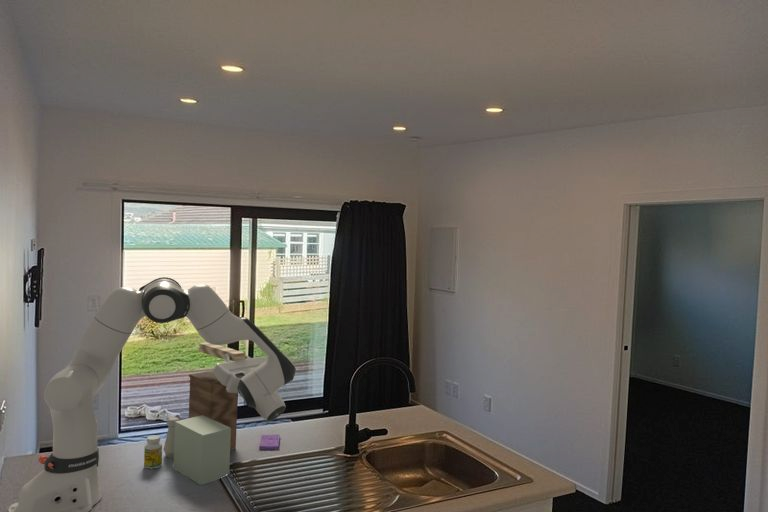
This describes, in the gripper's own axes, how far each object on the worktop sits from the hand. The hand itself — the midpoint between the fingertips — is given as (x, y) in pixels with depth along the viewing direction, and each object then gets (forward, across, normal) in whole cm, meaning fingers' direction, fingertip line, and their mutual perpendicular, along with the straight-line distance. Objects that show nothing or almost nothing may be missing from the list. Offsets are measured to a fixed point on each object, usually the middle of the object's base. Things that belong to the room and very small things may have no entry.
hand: (233, 354), depth 193 cm
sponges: (-18, -18, +32) cm, 41 cm away
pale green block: (-23, +14, +28) cm, 39 cm away
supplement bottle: (-10, +23, +36) cm, 44 cm away
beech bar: (+5, 0, +5) cm, 7 cm away
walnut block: (-8, 0, +37) cm, 38 cm away
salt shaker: (-7, +14, +38) cm, 41 cm away
